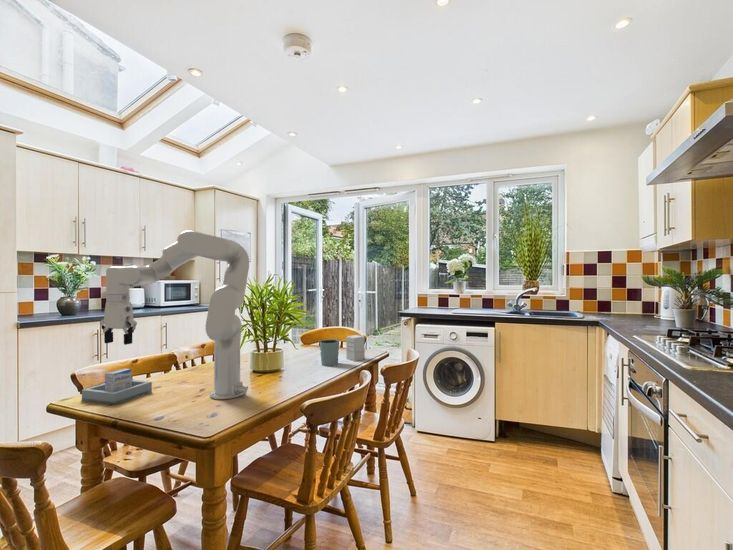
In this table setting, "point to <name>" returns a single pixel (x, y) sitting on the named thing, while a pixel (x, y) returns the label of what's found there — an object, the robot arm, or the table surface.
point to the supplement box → (355, 347)
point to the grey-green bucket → (329, 352)
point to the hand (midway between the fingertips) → (118, 343)
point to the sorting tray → (116, 393)
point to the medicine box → (118, 380)
